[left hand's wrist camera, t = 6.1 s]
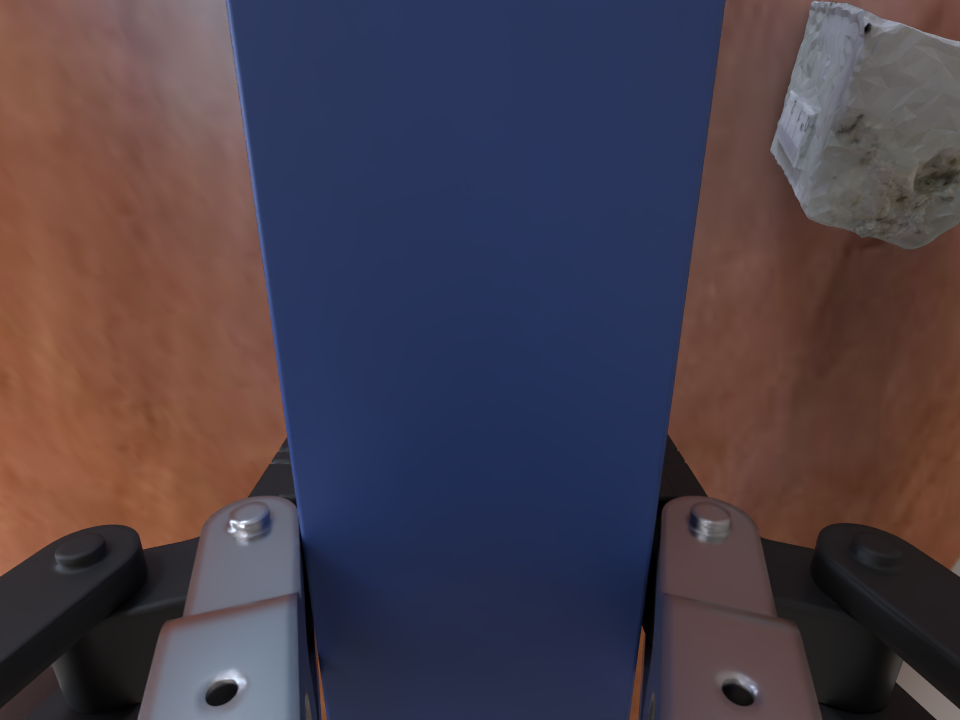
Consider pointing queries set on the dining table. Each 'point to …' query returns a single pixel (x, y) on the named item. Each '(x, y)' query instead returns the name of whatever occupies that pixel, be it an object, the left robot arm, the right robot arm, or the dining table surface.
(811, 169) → the mineral specimen
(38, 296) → the dining table surface
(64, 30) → the dining table surface
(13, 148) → the dining table surface
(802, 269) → the dining table surface
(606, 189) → the bar
